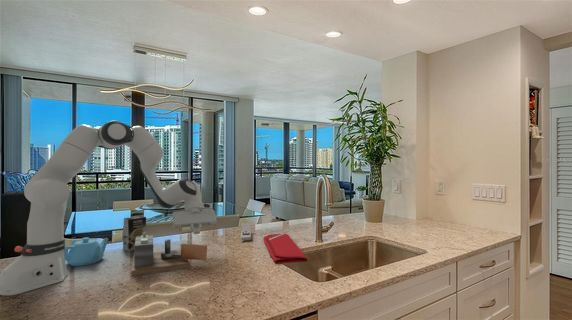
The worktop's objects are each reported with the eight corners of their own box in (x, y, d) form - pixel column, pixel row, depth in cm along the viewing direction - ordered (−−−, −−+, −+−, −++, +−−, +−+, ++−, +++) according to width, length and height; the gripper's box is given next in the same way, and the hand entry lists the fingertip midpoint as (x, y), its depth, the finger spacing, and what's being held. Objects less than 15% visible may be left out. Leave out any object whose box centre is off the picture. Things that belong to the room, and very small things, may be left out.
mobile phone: (250, 223, 193) (251, 231, 168) (250, 232, 193) (251, 242, 168) (240, 223, 192) (240, 232, 167) (241, 232, 192) (240, 242, 167)
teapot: (72, 257, 139) (72, 234, 139) (108, 254, 144) (108, 232, 144) (58, 269, 125) (58, 243, 125) (99, 265, 129) (99, 240, 129)
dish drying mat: (274, 264, 133) (274, 256, 133) (262, 240, 173) (262, 234, 173) (308, 262, 136) (308, 254, 136) (288, 239, 176) (288, 233, 176)
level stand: (189, 267, 127) (189, 235, 127) (131, 275, 118) (131, 241, 118) (183, 253, 147) (183, 225, 147) (133, 259, 138) (133, 229, 138)
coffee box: (128, 251, 149) (128, 219, 149) (122, 249, 153) (122, 217, 153) (146, 247, 156) (146, 216, 156) (140, 245, 160) (140, 215, 160)
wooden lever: (203, 262, 127) (203, 244, 127) (157, 258, 132) (157, 240, 132) (211, 257, 134) (211, 240, 134) (167, 253, 139) (167, 237, 139)
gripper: (172, 207, 144) (173, 231, 135) (215, 204, 152) (219, 227, 144) (171, 214, 148) (173, 239, 139) (213, 211, 156) (217, 234, 148)
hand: (196, 233), depth 141 cm, fingers closed
